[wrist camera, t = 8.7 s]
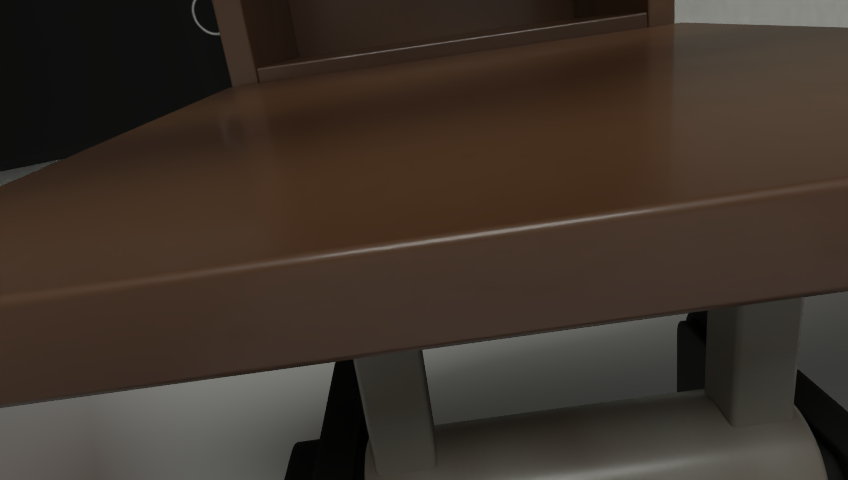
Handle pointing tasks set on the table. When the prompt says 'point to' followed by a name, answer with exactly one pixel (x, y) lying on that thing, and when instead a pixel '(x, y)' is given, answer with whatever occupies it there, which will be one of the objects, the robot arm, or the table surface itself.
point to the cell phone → (99, 70)
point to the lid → (462, 243)
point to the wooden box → (404, 30)
